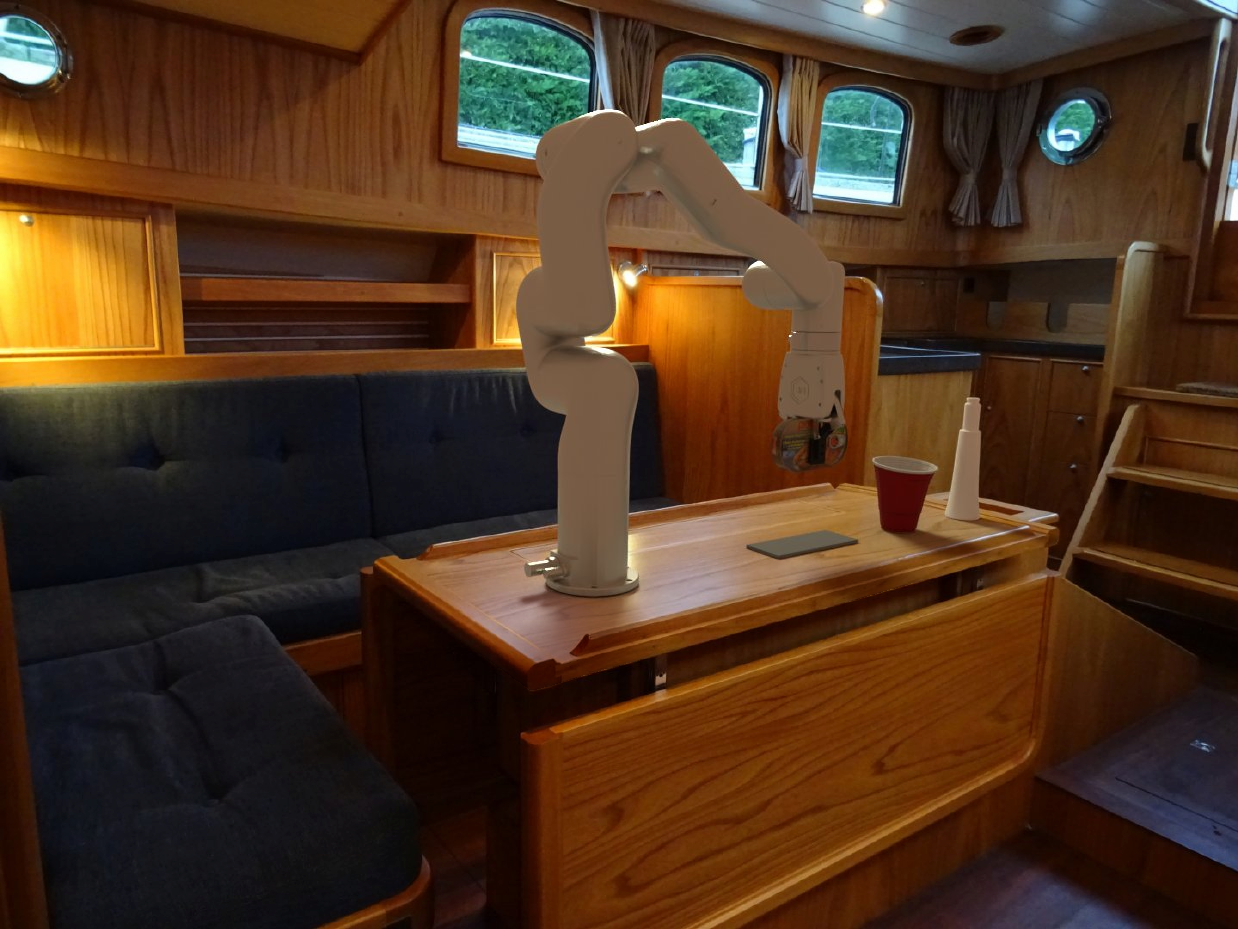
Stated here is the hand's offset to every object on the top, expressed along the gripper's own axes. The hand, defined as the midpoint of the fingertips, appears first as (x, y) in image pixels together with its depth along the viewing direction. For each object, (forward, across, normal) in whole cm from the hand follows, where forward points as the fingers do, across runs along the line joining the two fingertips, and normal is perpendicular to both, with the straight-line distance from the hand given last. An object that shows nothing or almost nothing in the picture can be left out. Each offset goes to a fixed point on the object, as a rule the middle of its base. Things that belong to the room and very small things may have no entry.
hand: (808, 461), depth 134 cm
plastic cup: (+14, +2, +22) cm, 26 cm away
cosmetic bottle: (+14, +2, +40) cm, 42 cm away
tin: (+1, 0, 0) cm, 2 cm away
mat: (+14, 0, 0) cm, 14 cm away
